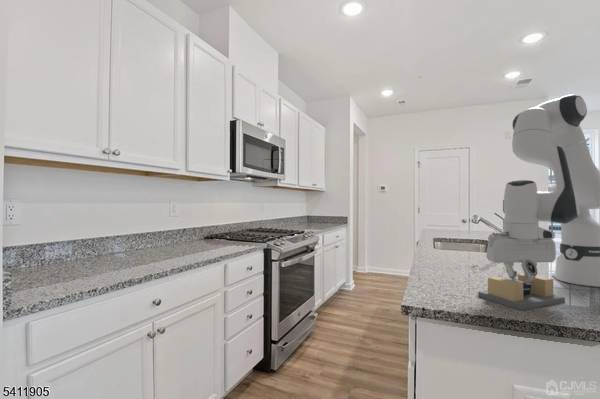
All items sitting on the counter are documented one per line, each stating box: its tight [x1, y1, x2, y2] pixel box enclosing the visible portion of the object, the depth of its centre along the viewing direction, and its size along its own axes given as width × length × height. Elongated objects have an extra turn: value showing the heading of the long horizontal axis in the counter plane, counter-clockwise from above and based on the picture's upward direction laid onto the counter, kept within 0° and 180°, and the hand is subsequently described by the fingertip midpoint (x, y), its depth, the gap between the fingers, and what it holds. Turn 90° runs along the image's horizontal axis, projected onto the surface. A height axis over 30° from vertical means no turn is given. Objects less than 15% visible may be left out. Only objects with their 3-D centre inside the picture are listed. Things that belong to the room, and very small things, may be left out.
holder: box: [477, 272, 566, 311], centre depth 93 cm, size 20×13×6 cm, turn 111°
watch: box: [505, 259, 538, 295], centre depth 93 cm, size 6×8×11 cm
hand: (520, 276), depth 93 cm, fingers closed on watch, 4 cm apart
